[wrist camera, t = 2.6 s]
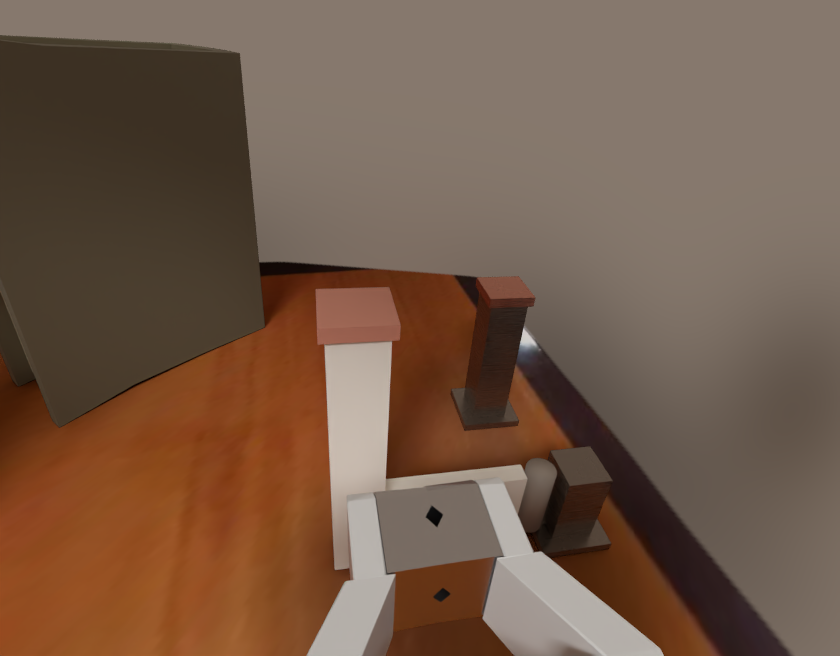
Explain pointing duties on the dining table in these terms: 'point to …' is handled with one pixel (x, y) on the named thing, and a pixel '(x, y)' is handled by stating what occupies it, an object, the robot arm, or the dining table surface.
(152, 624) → the dining table surface
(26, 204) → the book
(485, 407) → the post
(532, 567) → the robot arm
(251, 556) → the dining table surface
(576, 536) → the hinge post
